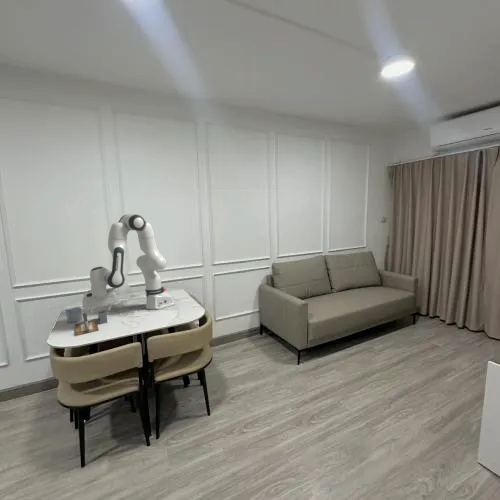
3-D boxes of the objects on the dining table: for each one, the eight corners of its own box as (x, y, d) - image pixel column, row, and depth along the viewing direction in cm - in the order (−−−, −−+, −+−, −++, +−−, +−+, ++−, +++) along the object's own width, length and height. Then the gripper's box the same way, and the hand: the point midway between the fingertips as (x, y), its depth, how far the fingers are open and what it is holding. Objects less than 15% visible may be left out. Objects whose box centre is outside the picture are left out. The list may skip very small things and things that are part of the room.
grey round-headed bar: (106, 316, 195) (105, 310, 195) (108, 322, 185) (107, 315, 185) (98, 318, 193) (97, 311, 192) (100, 324, 183) (99, 317, 182)
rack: (96, 320, 189) (94, 311, 188) (98, 330, 173) (97, 320, 172) (75, 325, 183) (73, 315, 182) (75, 336, 167) (74, 325, 166)
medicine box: (80, 318, 195) (78, 306, 194) (82, 319, 192) (80, 307, 191) (67, 321, 189) (65, 309, 188) (69, 323, 186) (67, 310, 185)
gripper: (115, 288, 192) (117, 307, 194) (81, 293, 181) (83, 313, 183) (117, 290, 187) (119, 310, 189) (81, 295, 176) (83, 316, 178)
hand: (101, 312), depth 186 cm, fingers open, 8 cm apart
